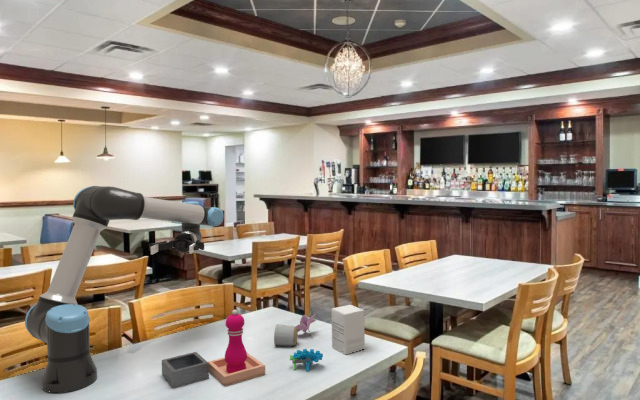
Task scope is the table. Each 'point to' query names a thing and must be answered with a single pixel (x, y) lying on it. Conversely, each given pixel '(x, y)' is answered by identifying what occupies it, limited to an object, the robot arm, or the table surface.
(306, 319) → the lily
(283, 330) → the ceramic mug
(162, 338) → the table surface
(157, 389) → the table surface
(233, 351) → the pepper mill
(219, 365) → the terracotta tray
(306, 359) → the blue bumpy piece
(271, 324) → the table surface
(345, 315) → the supplement box
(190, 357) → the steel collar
